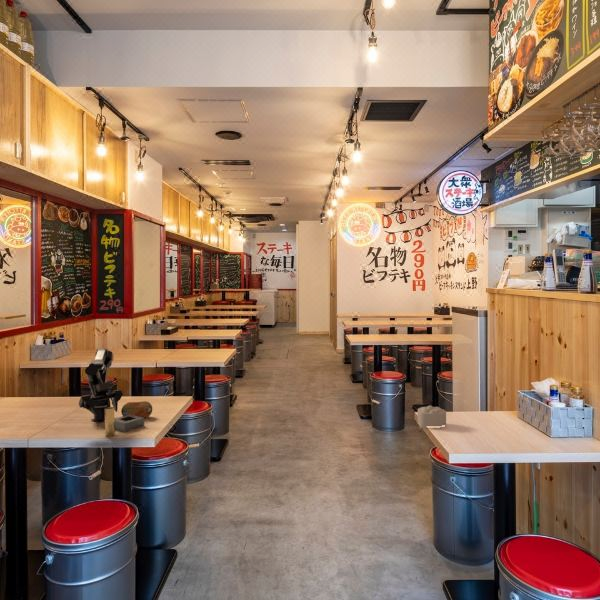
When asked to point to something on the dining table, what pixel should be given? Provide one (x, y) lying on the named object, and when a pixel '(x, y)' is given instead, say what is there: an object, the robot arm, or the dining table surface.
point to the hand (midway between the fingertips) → (106, 413)
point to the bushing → (109, 422)
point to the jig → (128, 422)
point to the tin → (137, 409)
